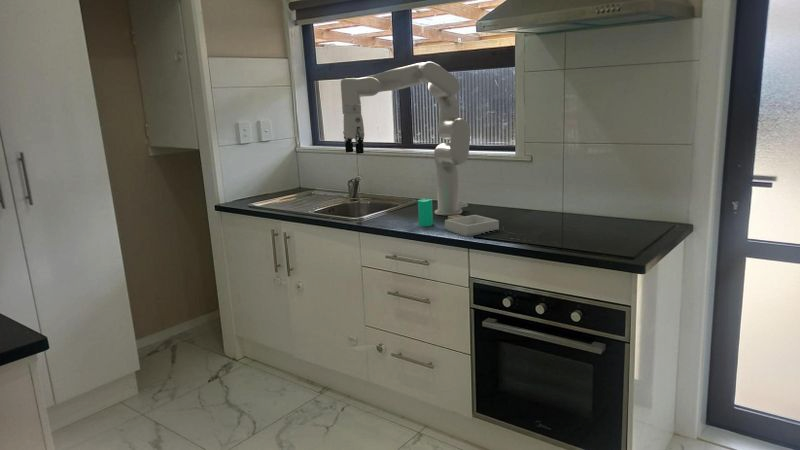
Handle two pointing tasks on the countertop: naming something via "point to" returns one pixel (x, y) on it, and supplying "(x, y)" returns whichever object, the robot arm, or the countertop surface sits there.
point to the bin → (471, 225)
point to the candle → (425, 212)
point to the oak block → (454, 216)
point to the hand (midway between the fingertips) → (354, 152)
